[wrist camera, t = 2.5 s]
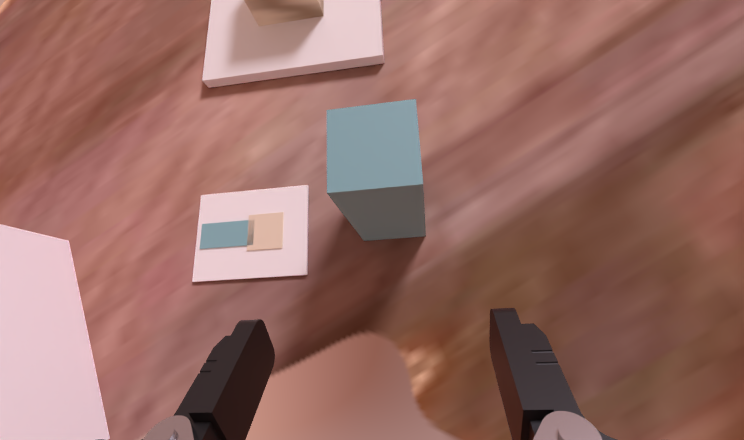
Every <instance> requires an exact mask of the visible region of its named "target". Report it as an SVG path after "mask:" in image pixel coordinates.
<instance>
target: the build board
mask: <svg viewBox="0 0 744 440" xmlns="http://www.w3.org/2000/svg"><path fill="white" fill-rule="evenodd" d="M383 63H384V51H383V33H382V16H381V0H324V16H320V17H314V18H308V19H302V20H296V21H289V22H283V23H277V24H271V25H265V26H258V24H257V22H256V20H255V19H254V17H253V15H252V13H251V11H250V10H249V8H248V6H247V4H246V3H245V1H244V0H211V9H210V18H209V26H208V35H207V44H206V52H205V61H204V70H203V79H202V81H203V82H204V83H205V84H206V85H207V86H208V87H209V88H211V87H218V86H225V85H233V84H240V83H247V82H254V81H261V80H268V79H276V78H283V77H290V76H297V75H304V74H311V73H319V72H326V71H333V70H340V69H347V68H354V67H361V66H369V65H376V64H383Z"/></svg>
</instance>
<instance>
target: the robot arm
mask: <svg viewBox="0 0 744 440" xmlns="http://www.w3.org/2000/svg"><path fill="white" fill-rule="evenodd" d="M490 352H491V358H492V362H493V366H494V370H495V374H496V378H497V382H498V386H499V390H500V393H501V397H502V401H503V405H504V409H505V413H506V417H507V421H508V425H509V428H510V432H511V436H512V440H616V439H613V438H611V437H609V436H607V435H605V434H603V433H601V432H600V431H598V430H597V429H596V428H595V427H594V426H593V425H592V424H591V423H590V422H589V421H587V420H586V419H585V418H584V416H583V415H582V414H581V412H580V410H579V408H578V406H577V403H576V401H575V399H574V397H573V395H572V392H571V390H570V388H569V386H568V383H567V381H566V379H565V377H564V375H563V372H562V370H561V368H560V366H559V365H558V361H557V359H556V357H555V355H554V353H553V352H552V348H551V346H550V343H549V341H548V339H547V337H546V335H545V334H544V333H543V332H542V331H541V330H540V329H539V328H538V327H537V326H536V325H535V324H534V323H533V324H521V323H520V320H519V317H518V315H517V312H516V310H515V309H514V308H502V309H491V310H490ZM274 360H275V353H274V348H273V345H272V342H271V340H270V337H269V334H268V332H267V329H266V326H265V324H264V322H263V321H262V320H241V321H239V322H238V324H237V325H236V327H235V329H234V331H233V333H232V334H231V336H225V337H224V338H223V339H222V340H221V341H220V342H219V343H218V344H217V345H216V346H215V347H214V348H213V350H212V351H211V353H210V355H209V357H208V358H207V360H206V363H204V365H203V367H202V369H201V370H200V374H198V375H197V377H196V379H195V380H194V382H193V384H192V386H191V387H190V389H189V391H188V392H187V394H186V396H185V398H184V399H183V401H182V403H181V404H180V406H179V408H178V410H177V411H176V413H175V414H174V416H172V417H169V418H166V419H164V420H163V421H161V422H159V423H158V424H157V425H155V426H154V427H153V428H152V429H151V430H150V431H149V432H148V433H147V435H146V436H145V437H144V439H142V440H245V439H246V437H247V434H248V431H249V429H250V426H251V424H252V421H253V418H254V415H255V413H256V410H257V408H258V405H259V403H260V400H261V397H262V395H263V392H264V389H265V387H266V384H267V382H268V379H269V376H270V374H271V371H272V368H273V365H274ZM98 440H103V439H98Z"/></svg>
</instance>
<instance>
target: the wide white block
mask: <svg viewBox="0 0 744 440" xmlns="http://www.w3.org/2000/svg"><path fill="white" fill-rule="evenodd" d="M98 439H103V440H108V439H110V437H109V432H108V427H107V423H106V418H105V413H104V408H103V403H102V398H101V394H100V389H99V384H98V379H97V374H96V370H95V365H94V360H93V355H92V350H91V346H90V341H89V336H88V331H87V326H86V321H85V317H84V312H83V307H82V302H81V297H80V293H79V288H78V283H77V278H76V273H75V269H74V264H73V259H72V254H71V249H70V245H69V241H68V240H64V239H59V238H55V237H51V236H47V235H43V234H39V233H34V232H30V231H26V230H22V229H18V228H14V227H9V226H5V225H1V224H0V440H98Z"/></svg>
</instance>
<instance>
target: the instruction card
mask: <svg viewBox="0 0 744 440" xmlns="http://www.w3.org/2000/svg"><path fill="white" fill-rule="evenodd" d="M308 193H309V186H308V185H302V186H292V187H281V188H271V189H261V190H250V191H240V192H230V193H219V194H209V195H201V203H200V212H199V222H198V231H197V241H196V250H195V260H194V270H193V279H192V282H202V281H219V280H235V279H251V278H267V277H283V276H299V275H307V269H308Z"/></svg>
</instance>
